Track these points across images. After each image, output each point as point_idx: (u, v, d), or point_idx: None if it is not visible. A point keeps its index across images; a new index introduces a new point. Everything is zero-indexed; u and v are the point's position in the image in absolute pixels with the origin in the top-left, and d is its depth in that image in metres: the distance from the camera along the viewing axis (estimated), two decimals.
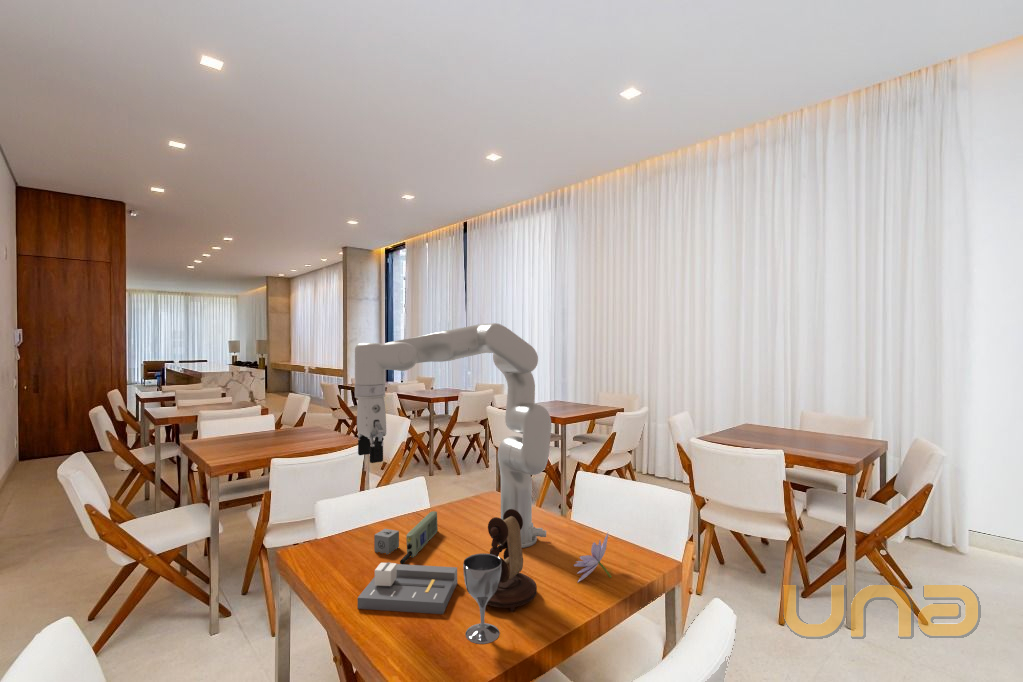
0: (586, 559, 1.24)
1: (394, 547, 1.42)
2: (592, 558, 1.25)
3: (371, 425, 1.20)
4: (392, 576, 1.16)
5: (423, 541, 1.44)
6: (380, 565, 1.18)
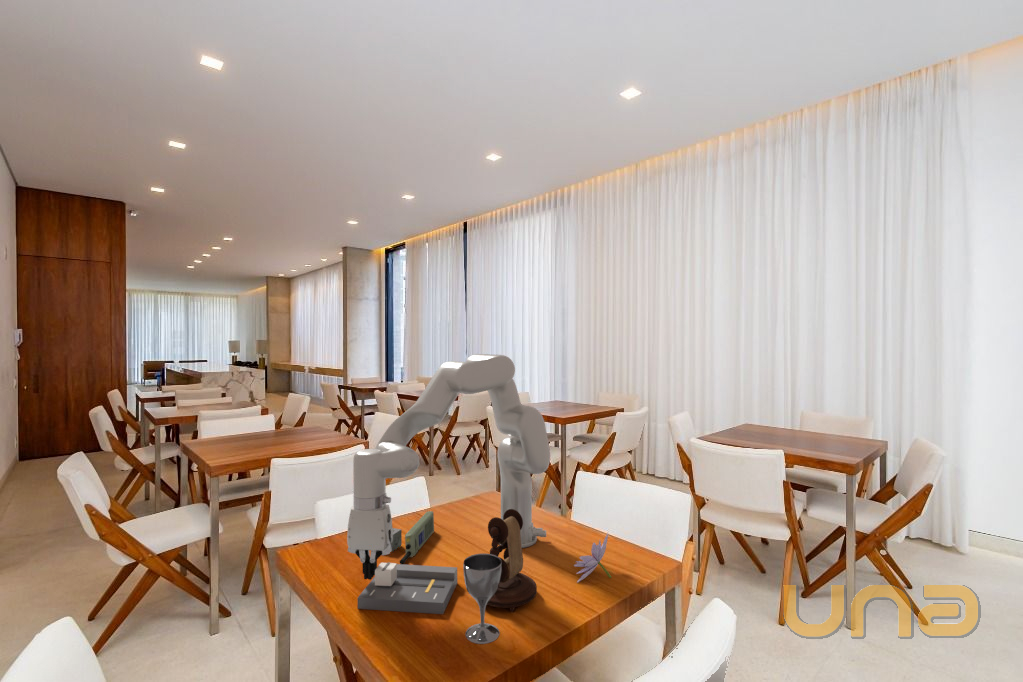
0: (586, 559, 1.24)
1: (397, 545, 1.43)
2: (592, 558, 1.25)
3: (387, 536, 1.16)
4: (392, 576, 1.16)
5: (421, 541, 1.44)
6: (380, 565, 1.18)
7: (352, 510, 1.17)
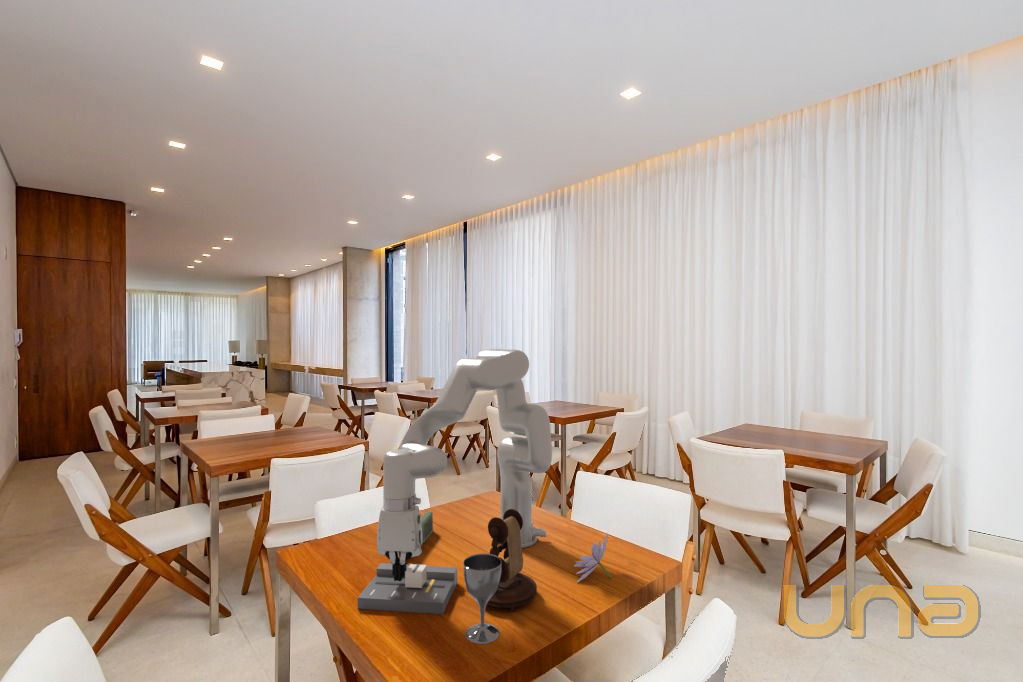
0: (586, 559, 1.24)
1: None
2: (592, 558, 1.24)
3: (417, 538, 1.15)
4: (422, 578, 1.16)
5: None
6: (410, 567, 1.17)
7: (382, 511, 1.16)
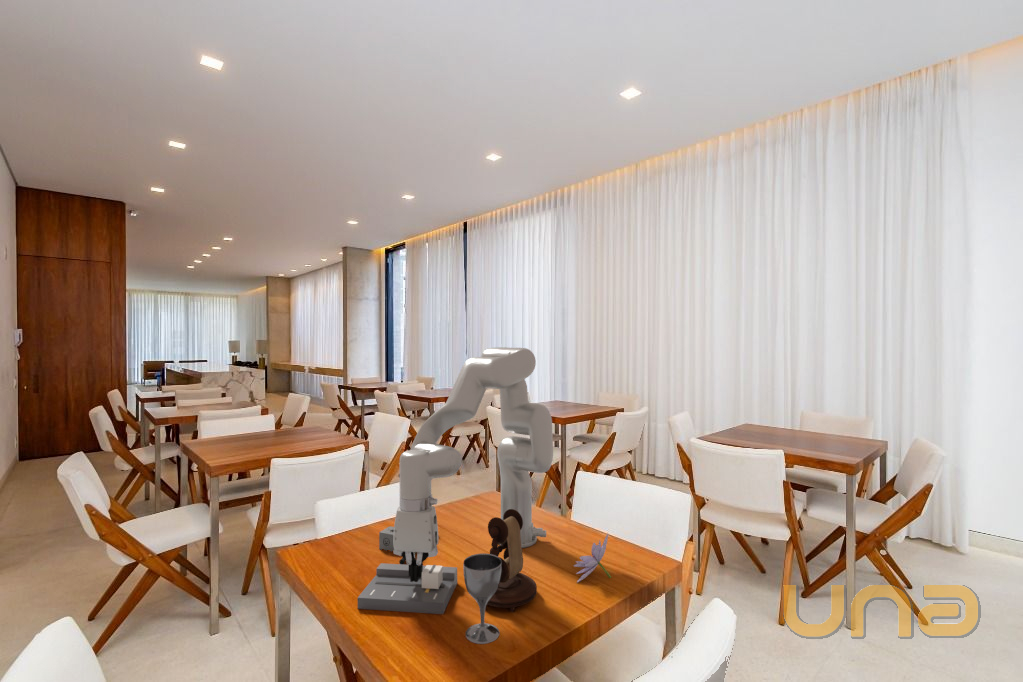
0: (585, 559, 1.24)
1: None
2: (592, 558, 1.24)
3: (434, 538, 1.15)
4: (439, 579, 1.15)
5: None
6: (426, 568, 1.17)
7: (398, 512, 1.15)
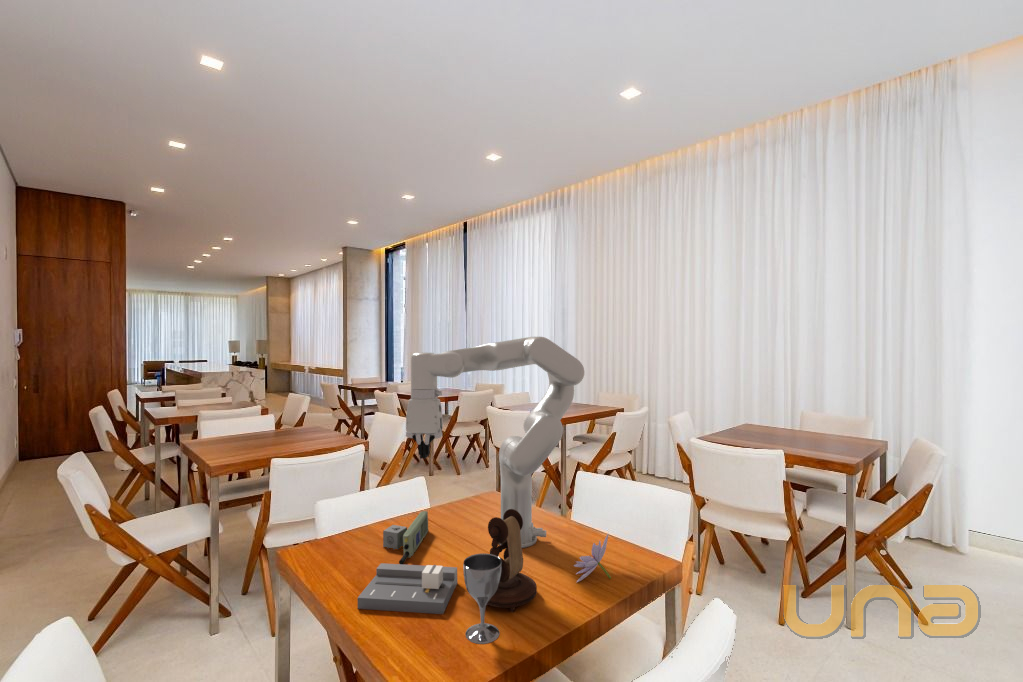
0: (585, 560, 1.24)
1: (402, 543, 1.45)
2: (591, 559, 1.24)
3: (439, 422, 1.40)
4: (439, 579, 1.15)
5: (418, 541, 1.44)
6: (426, 568, 1.17)
7: (410, 401, 1.41)
